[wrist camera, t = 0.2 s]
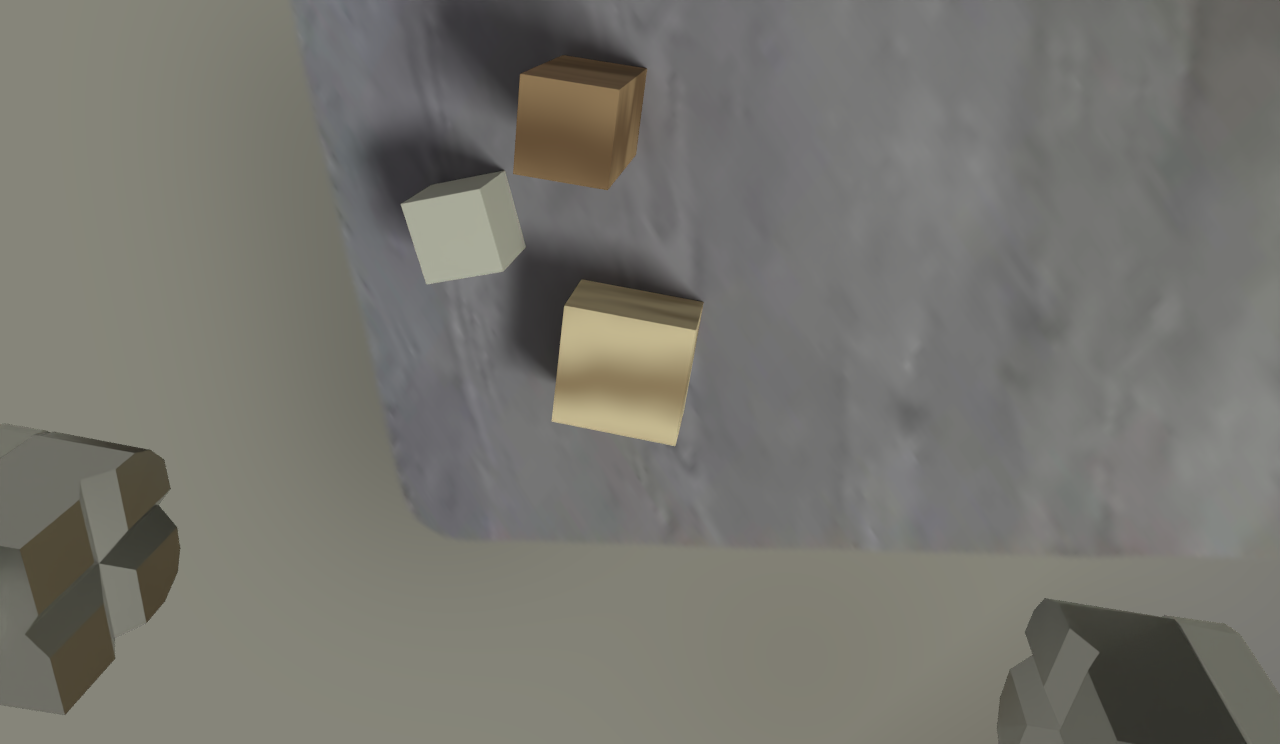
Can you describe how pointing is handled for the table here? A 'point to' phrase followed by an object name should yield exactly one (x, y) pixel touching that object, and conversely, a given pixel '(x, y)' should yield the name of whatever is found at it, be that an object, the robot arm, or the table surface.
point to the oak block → (625, 361)
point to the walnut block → (578, 120)
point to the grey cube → (464, 227)
